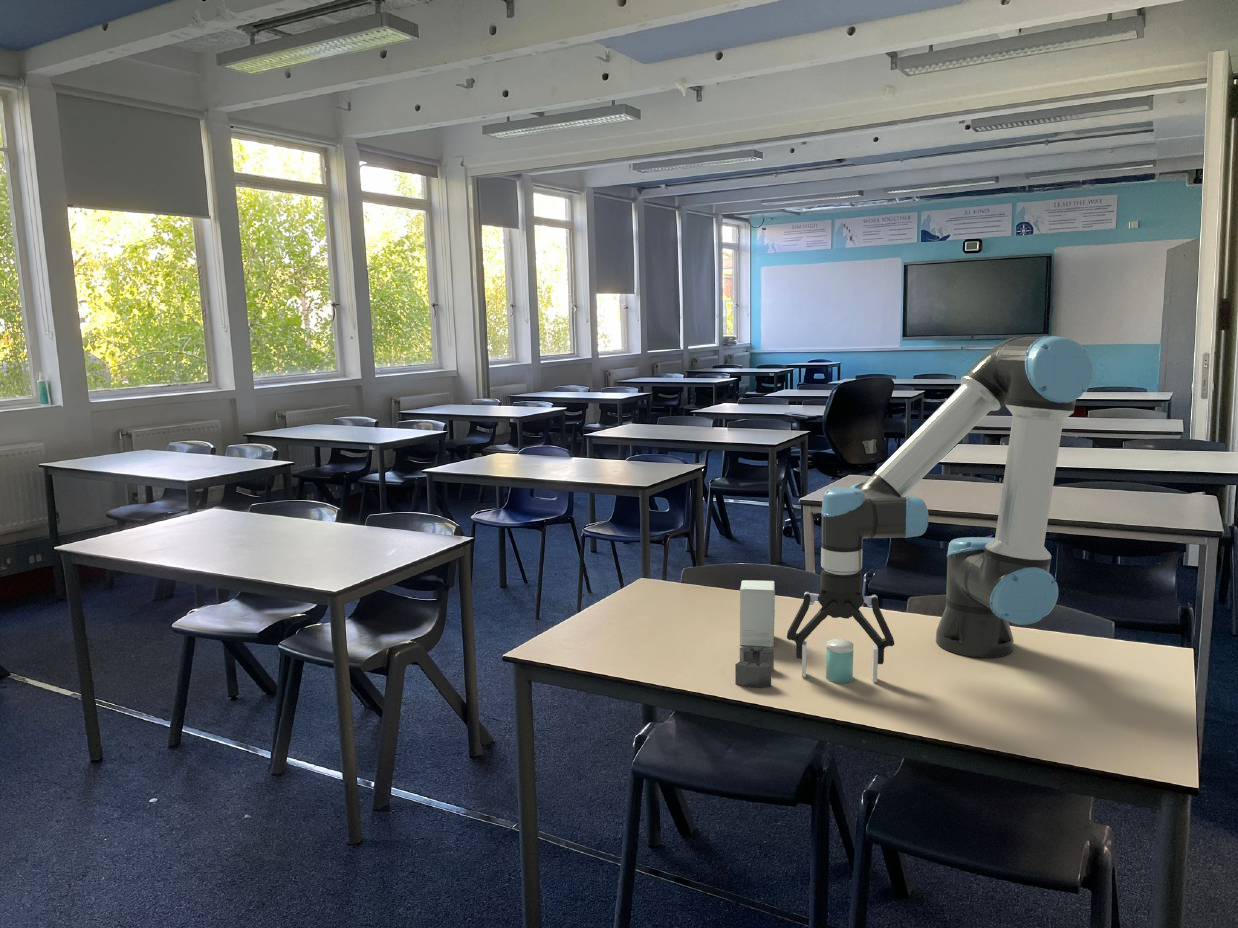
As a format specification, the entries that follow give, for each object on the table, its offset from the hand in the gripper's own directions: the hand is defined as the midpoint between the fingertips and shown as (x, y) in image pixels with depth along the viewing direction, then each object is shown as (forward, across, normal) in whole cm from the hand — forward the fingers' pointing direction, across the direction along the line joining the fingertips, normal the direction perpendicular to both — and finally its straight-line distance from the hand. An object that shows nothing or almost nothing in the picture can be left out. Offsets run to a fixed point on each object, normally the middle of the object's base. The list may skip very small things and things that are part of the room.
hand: (838, 676), depth 166 cm
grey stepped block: (0, +16, +2) cm, 16 cm away
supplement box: (+1, +17, -18) cm, 25 cm away
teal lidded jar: (0, 0, 0) cm, 0 cm away
